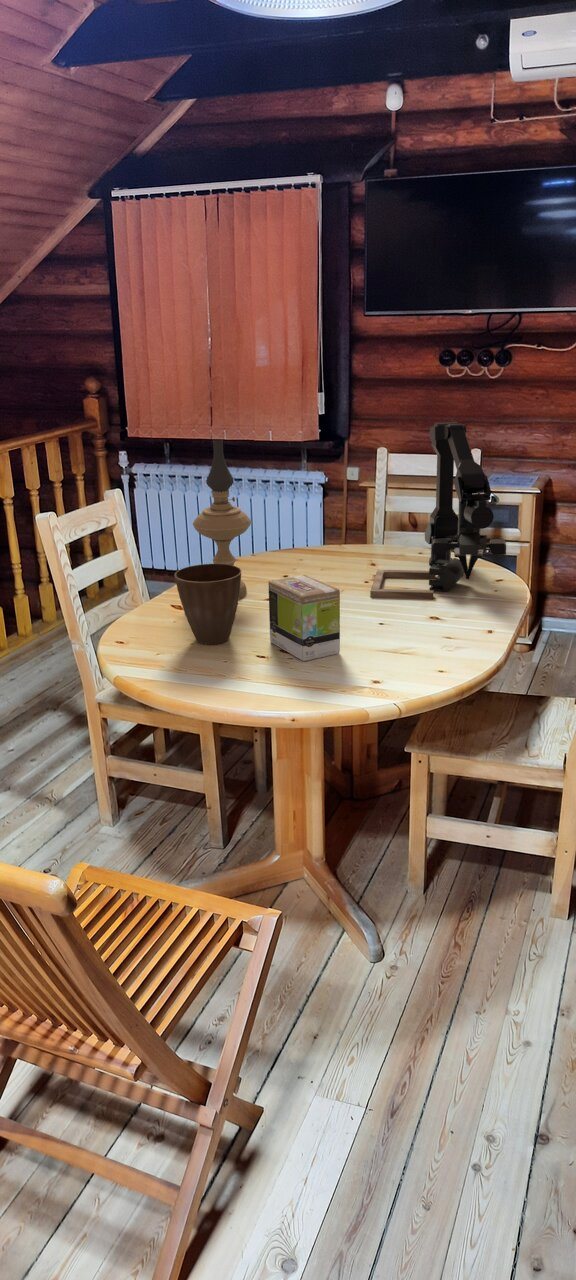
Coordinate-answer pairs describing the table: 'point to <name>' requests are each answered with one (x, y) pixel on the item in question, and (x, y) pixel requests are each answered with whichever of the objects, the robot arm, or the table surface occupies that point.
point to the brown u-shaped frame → (397, 593)
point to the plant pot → (209, 599)
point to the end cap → (445, 574)
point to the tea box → (304, 617)
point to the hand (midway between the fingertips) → (467, 578)
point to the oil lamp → (222, 512)
